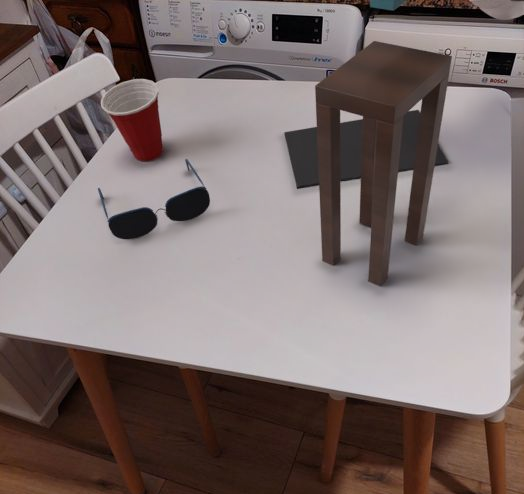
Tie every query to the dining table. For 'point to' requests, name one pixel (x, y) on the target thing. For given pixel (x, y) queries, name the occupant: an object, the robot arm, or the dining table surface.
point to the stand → (380, 142)
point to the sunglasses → (146, 220)
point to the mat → (349, 150)
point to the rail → (386, 4)
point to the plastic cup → (136, 116)
